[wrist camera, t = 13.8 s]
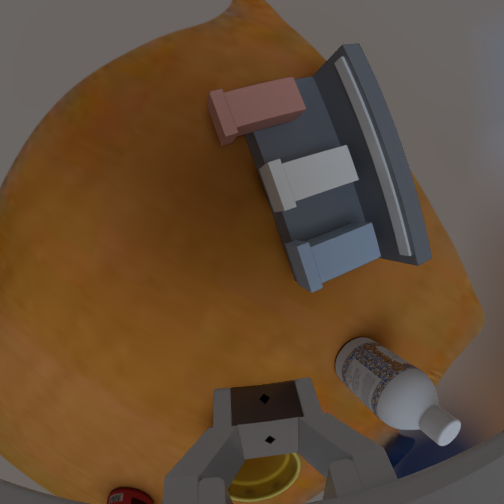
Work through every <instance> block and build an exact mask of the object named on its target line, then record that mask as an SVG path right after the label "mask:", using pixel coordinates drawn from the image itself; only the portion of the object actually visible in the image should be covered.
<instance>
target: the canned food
mask: <svg viewBox="0 0 504 504" xmlns="http://www.w3.org/2000/svg"><path fill="white" fill-rule="evenodd" d="M107 504H154V503H153V501H152V499H151V498H150V497H149V496H148V495H147V494H145V493H144V492H142V491H139V490H137V489H133V488H118V489H115V490H113V491H112V492H111V493H110V495H109V496H108V500H107Z"/></svg>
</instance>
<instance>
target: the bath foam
mask: <svg viewBox="0 0 504 504" xmlns="http://www.w3.org/2000/svg"><path fill="white" fill-rule="evenodd" d="M335 370H336V373H337V376H338V377H339V378H340V380H341V381H342V382H343V383H344V384H345V385H346V386H347V387H348V388H349V389H350V390H351V391H352V392H353V393H354V394H355V395H356V396H357V397H358V398H359V399H360V400H361V401H362V402H363V403H364V404H365V405H366V406H367V407H368V408H369V409H370V410H371V411H372V412H373V413H374V414H375V415H376V416H377V417H378V418H379V419H381V420H382V421H383V422H384V423H386V424H387V425H389V426H391V427H394V428H397V429H403V430H417V429H421V430H422V431H423V432H424V433H425V434H426V435H428V436H429V437H430V438H431V439H432V440H434V441H435V442H436V443H437V444H438V445H440V446H444V445H447V444H449V443H450V442H451V441H452V440H453V439H454V438H455V437H456V435H457V434H458V432H459V430H460V427H461V423H460V421H459V420H458V419H456V418H454V417H453V416H451V415H450V414H449V413H448V412H447V411H445V410H444V409H442V408H441V407H439V402H438V396H437V392H436V389H435V386H434V384H433V383H432V381H431V380H430V378H429V377H428V376H427V375H426V374H425V373H424V372H423V371H421V370H420V369H418V368H417V367H415V366H413V365H412V364H410V363H409V362H407V361H405V360H404V359H402V358H401V357H399V356H397V355H396V354H394V353H393V352H391V351H390V350H388V349H386V348H385V347H383V346H382V345H380V344H378V343H377V342H375V341H373V340H372V339H369V338H365V337H361V338H356V339H354V340H352V341H350V342H348V343H347V344H346V345H345V346H344V347H343V348H342V349H341V351H340V352H339V354H338V356H337V359H336V363H335Z"/></svg>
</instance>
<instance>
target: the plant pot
mask: <svg viewBox="0 0 504 504" xmlns="http://www.w3.org/2000/svg"><path fill="white" fill-rule="evenodd" d="M300 469H301V460H300V457H299V455H298V453H297V452H296V453H289V454H281V455H273V456H266V457H258V458H251V459H245V461H244V463H243V465H242V466H241V468H240V470H239V471H238V473H237V475H236V476H235V478H234V480H233V481H232V483H231V484H230V486H229V488H228V492H229V495H230V498H231V499H232V500H236V501H243V502H252V501H260V500H264V499H268V498H271V497H274V496H276V495H278V494H280V493H282V492H283V491H285V490H286V489H287V488H289V487H290V486H291V485H292V484H293V483H294V482H295V480H296V479H297V477H298V475H299V473H300Z"/></svg>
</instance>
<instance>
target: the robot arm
mask: <svg viewBox="0 0 504 504" xmlns="http://www.w3.org/2000/svg"><path fill="white" fill-rule="evenodd" d="M296 452H299V454H300V455H301V456H302V457H303V458H304V459H305V460H306V461H308V462H309V463H310V464H311V465H312V466H313V467H314V468H315V469H316V470H317V471H319V472H320V473H321V474H322V475H323V476H324V477H325V478H327V480H326V486H325V491H324V496H323V500H321V501H316V502H311V503H306V504H504V430H503V431H501V432H500V433H498V434H496V435H495V436H493V437H491V438H489V439H488V440H486V441H484V442H482V443H480V444H478V445H476V446H474V447H472V448H470V449H468V450H466V451H464V452H462V453H461V454H458V455H456V456H454V457H452V458H450V459H447V460H445V461H443V462H441V463H438V464H436V465H434V466H431V467H429V468H427V469H424V470H422V471H419V472H416V473H414V474H411V475H409V476H406V477H403V478H400V479H397V477H396V475H395V472H394V471H393V468H392V465H391V463H390V461H389V459H388V457H387V454H386V452H385V450H384V448H383V447H382V446H380V445H378V444H376V443H375V442H373V441H372V440H370V439H368V438H367V437H365V436H363V435H362V434H360V433H359V432H357V431H355V430H354V429H352V428H351V427H349V426H347V425H346V424H344V423H343V422H341V421H340V420H338V419H336V418H335V417H333V416H332V415H330V414H329V413H322V410H321V407H320V404H319V401H318V398H317V395H316V392H315V389H314V386H313V383H312V381H311V379H310V378H309V377H307V378H302V379H296V380H294V381H293V380H290V381H284V382H277V383H270V384H263V385H255V386H244V387H232V388H222V389H215V390H214V398H213V428H208V429H207V430H206V431H205V432H204V433H203V435H202V436H201V437H200V438H199V439H198V440H197V442H196V443H195V444H194V445H193V446H192V447H191V448H190V450H189V451H188V452H187V453H186V454H185V455H184V456H183V458H182V459H181V460H180V461H179V462H178V463H177V464H176V465H175V466H174V468H173V469H172V470H171V471H170V472H169V473H168V474H167V475H166V476H165V482H164V491H163V500H162V504H233V503H232V500H231V498H230V495H229V492H228V488H229V486H230V484H231V483H232V481H233V480H234V478H235V476H236V475H237V473H238V471H239V470H240V468H241V466H242V465H243V463H244V461H245V459H251V458H258V457H266V456H273V455H281V454H289V453H296ZM0 504H89V503H84V502H79V501H75V500H70V499H66V498H61V497H57V496H53V495H50V494H45V493H42V492H39V491H35V490H32V489H28V488H25V487H22V486H19V485H16V484H13V483H10V482H8V481H5V480H2V479H0Z"/></svg>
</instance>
